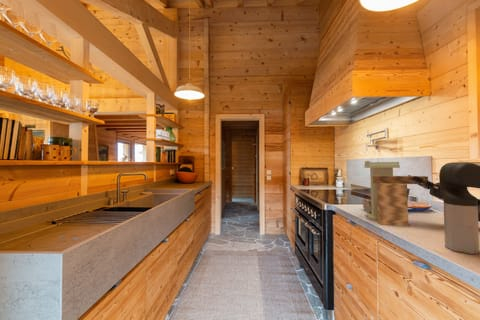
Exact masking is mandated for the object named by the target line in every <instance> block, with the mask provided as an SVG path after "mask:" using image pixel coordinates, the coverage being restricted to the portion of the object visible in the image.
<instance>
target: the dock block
mask: <svg viewBox="0 0 480 320" xmlns="http://www.w3.org/2000/svg"><path fill="white" fill-rule="evenodd" d="M407 188H408V184H381V183H377V211H378V219H377V221H376V222H377V223H378V224H379V225H381V226H395V227H397V226H398V227H406V226H408V228H410V223H409V211H408V210H409V209H408V207H409V206H408V201H407Z"/></svg>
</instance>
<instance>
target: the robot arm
mask: <svg viewBox="0 0 480 320" xmlns="http://www.w3.org/2000/svg"><path fill="white" fill-rule="evenodd" d="M438 174H439V175H438V176H439V177H438V178H439V180H438V181H439V182H436V183H435V182H432V181H430V180H429V179H428V180H425V179H421V178H419V177H417V176H418V175H413V176H414V178H413V180H415V181H417V182H419V183H421V184H417V185H418V186H419V187H421V188H423V189H425V190H429V192H428V193H429V194H430V196H433V197H435V198H437V199H439V200H440V201H443V225H444V226H443V227H444V228H443V229H444V246H445V248H447V249H449V250H451V251H455V252H460V253H465V254H470V255H477V254H479V253H480V233H479V232H480V230H479V223H480V198H477V197H476V196H475V195H473V194H472V193H471V192H470V191H469V189H468V188H472V189H480V165H479V164H476V163H473V162H463V161H462V162H459V161H458V162H456V161H455V162H454V161H453V162H452V161H451V162H447V163H445V164H444V165H442V166H441V168H440V170H439V172H438ZM407 176H412V175H410V174H408V175H407Z"/></svg>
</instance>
